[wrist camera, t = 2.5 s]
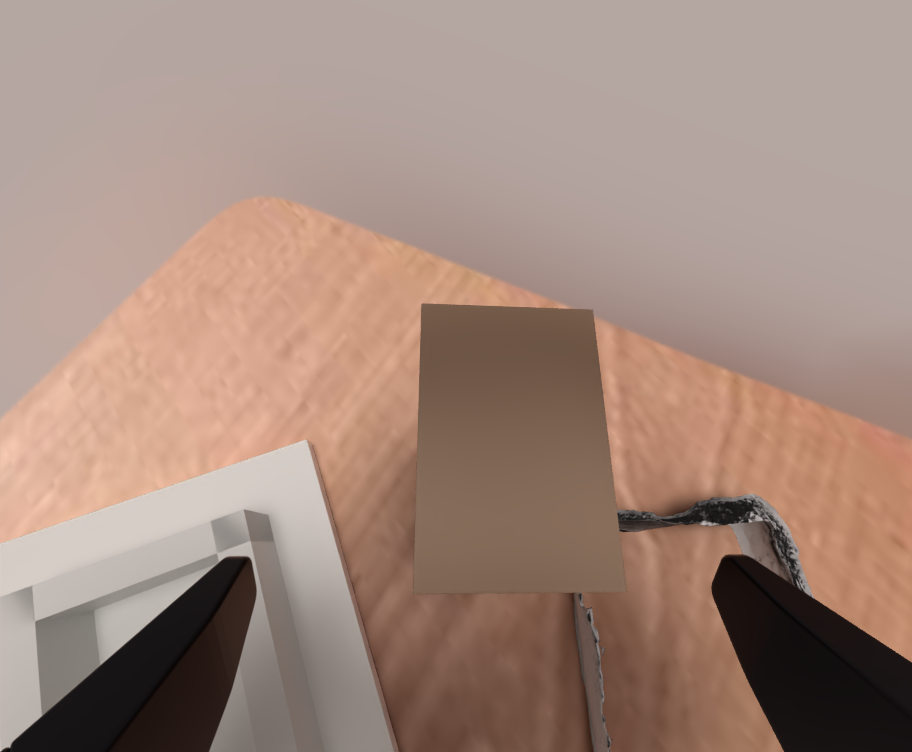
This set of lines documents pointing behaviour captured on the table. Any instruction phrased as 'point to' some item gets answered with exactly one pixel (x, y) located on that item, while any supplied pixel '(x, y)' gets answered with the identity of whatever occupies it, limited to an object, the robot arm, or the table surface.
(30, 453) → the table surface
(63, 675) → the white recessed tray
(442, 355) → the walnut block
